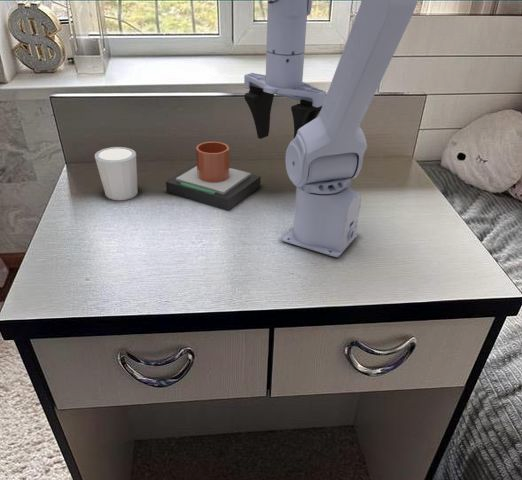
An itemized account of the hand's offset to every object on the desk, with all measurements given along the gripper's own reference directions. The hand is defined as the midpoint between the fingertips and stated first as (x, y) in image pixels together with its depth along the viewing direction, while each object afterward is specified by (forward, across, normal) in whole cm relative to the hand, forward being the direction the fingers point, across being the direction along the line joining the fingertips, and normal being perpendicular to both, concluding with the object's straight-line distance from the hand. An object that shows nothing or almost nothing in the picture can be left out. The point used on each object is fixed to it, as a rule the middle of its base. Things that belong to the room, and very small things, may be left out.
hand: (280, 142), depth 87 cm
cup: (+7, -10, -6) cm, 14 cm away
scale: (+9, -10, -6) cm, 15 cm away
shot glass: (+10, -21, -18) cm, 29 cm away
